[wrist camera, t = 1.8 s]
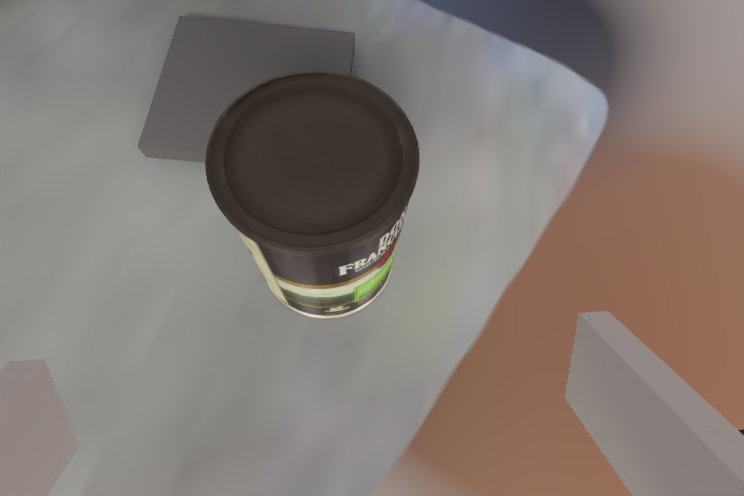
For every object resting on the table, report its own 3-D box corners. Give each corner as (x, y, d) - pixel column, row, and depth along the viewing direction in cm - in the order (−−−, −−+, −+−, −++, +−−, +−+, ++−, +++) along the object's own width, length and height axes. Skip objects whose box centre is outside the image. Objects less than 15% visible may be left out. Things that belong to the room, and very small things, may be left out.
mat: (145, 156, 37) (137, 146, 36) (185, 29, 42) (179, 16, 41) (338, 174, 37) (337, 165, 36) (354, 46, 42) (354, 33, 41)
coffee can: (419, 240, 35) (459, 133, 22) (341, 347, 32) (334, 297, 19) (316, 172, 37) (296, 36, 24) (232, 267, 34) (157, 170, 21)
